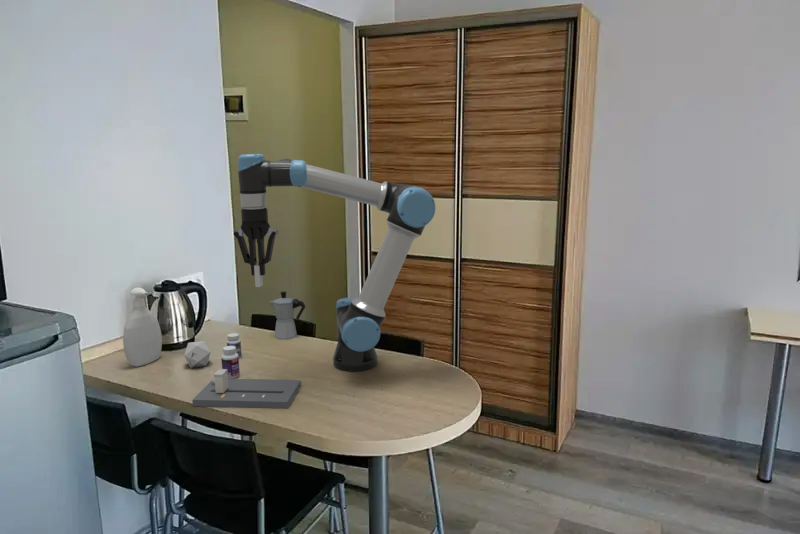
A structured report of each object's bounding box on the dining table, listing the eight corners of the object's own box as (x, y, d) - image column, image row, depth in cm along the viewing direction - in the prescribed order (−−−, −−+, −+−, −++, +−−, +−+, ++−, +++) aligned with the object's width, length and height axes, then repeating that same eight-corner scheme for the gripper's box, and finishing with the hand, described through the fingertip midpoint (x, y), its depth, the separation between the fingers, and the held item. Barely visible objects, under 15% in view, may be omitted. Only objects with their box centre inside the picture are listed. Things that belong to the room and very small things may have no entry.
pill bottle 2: (235, 379, 191) (233, 351, 189) (219, 378, 192) (217, 350, 190) (242, 373, 197) (240, 345, 195) (227, 372, 198) (225, 344, 196)
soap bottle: (136, 372, 199) (127, 294, 193) (120, 368, 203) (111, 291, 197) (171, 358, 211) (164, 284, 206) (156, 354, 215) (148, 282, 210)
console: (301, 386, 186) (300, 375, 185) (287, 408, 170) (286, 396, 169) (214, 384, 188) (213, 373, 187) (192, 406, 172) (191, 394, 172)
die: (179, 367, 205) (177, 351, 197) (194, 347, 211) (192, 331, 203) (202, 376, 204) (200, 360, 197) (215, 357, 210) (215, 340, 203)
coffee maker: (266, 339, 231) (263, 294, 227) (274, 332, 239) (272, 288, 236) (303, 340, 228) (300, 295, 225) (310, 333, 237) (308, 289, 233)
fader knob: (228, 387, 180) (227, 369, 178) (223, 393, 175) (222, 374, 174) (220, 387, 180) (219, 369, 179) (215, 392, 176) (213, 374, 174)
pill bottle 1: (229, 360, 208) (227, 337, 207) (226, 356, 212) (224, 334, 211) (243, 358, 210) (241, 335, 209) (240, 354, 215) (238, 331, 213)
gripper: (279, 206, 177) (283, 283, 182) (237, 206, 178) (242, 282, 183) (272, 208, 170) (276, 289, 175) (227, 209, 171) (233, 288, 176)
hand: (259, 285), depth 179 cm, fingers closed
